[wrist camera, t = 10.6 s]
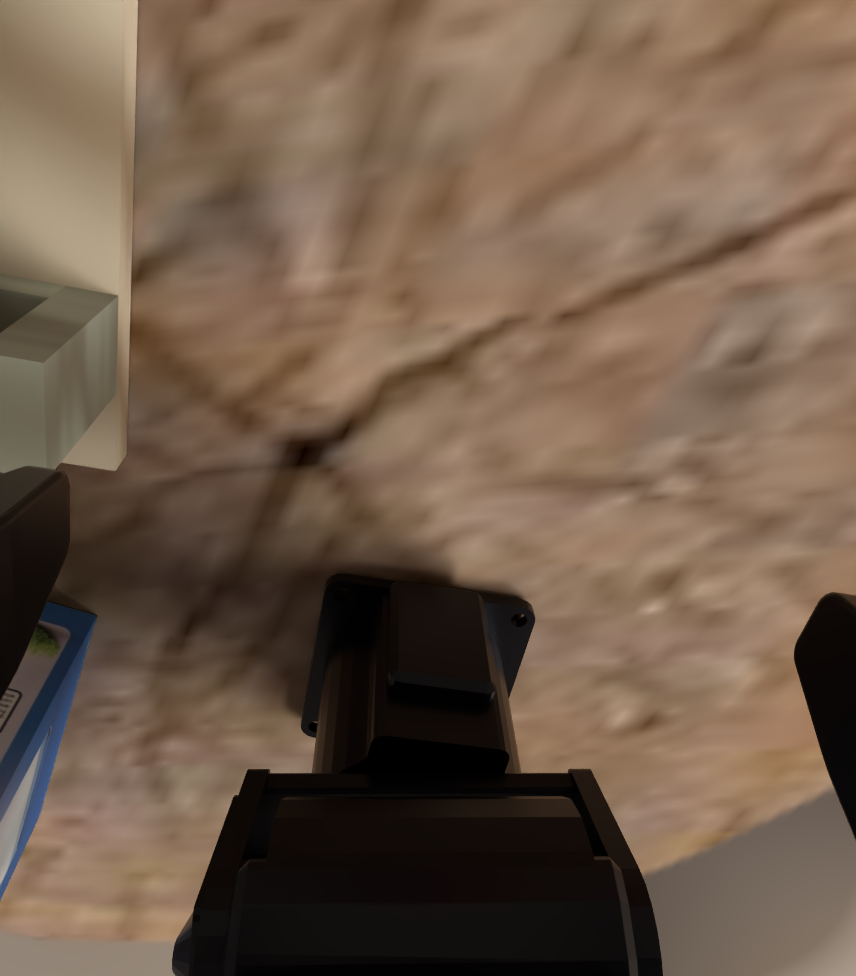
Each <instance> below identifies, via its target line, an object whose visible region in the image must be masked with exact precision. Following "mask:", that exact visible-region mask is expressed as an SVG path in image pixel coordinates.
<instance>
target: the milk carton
mask: <svg viewBox="0 0 856 976" xmlns="http://www.w3.org/2000/svg"><path fill="white" fill-rule="evenodd" d="M96 618H97V616H96V615H93V614H89V613H86V612H83V611H79V610H76V609H72V608H69V607H65V606H62V605H58V604H55V603H52V602H48V601H47V603H46V605H45V608H44V610H43V613H42V615H41V617H40V620H39V622H38V624H37V627H36V629H35V632H34V634H33V636H32V639H31V641H30V643H29V646H28V648H27V651H26V653H25V655H24V657H23V659H22V662H21V664H20V666H19V668H18V670H17V672H16V674H15V676H14V678H13V680H12V681H11V683H10V685H9V687H8V689H7V691H6V692H5V694H4V696H3V697H2V699H1V701H0V900H1V898H2V895H3V893H4V891H5V889H6V887H7V885H8V883H9V880H10V878H11V876H12V874H13V872H14V870H15V867H16V865H17V863H18V861H19V859H20V857H21V855H22V852H23V850H24V848H25V846H26V844H27V842H28V839H29V837H30V835H31V833H32V831H33V829H34V827H35V824H36V822H37V820H38V818H39V816H40V813H41V810H42V806H43V803H44V799H45V796H46V792H47V789H48V785H49V782H50V778H51V775H52V771H53V768H54V764H55V761H56V757H57V754H58V750H59V747H60V743H61V740H62V736H63V733H64V729H65V726H66V722H67V719H68V715H69V712H70V708H71V705H72V701H73V698H74V694H75V691H76V687H77V684H78V681H79V677H80V674H81V670H82V667H83V663H84V660H85V656H86V653H87V649H88V646H89V642H90V639H91V635H92V632H93V628H94V625H95V621H96Z"/></svg>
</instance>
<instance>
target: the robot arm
mask: <svg viewBox="0 0 856 976" xmlns="http://www.w3.org/2000/svg"><path fill="white" fill-rule="evenodd" d="M69 543H70V486H69V480H68V477H67V475H66V474H65V473H64V472H63V471H60V470H56V469H49V468H43V467H37V466H23V467H20V468H17V469H14V470H11V471H9V472H6V473H3V474H0V701H1V699H2V697H3V696H4V694H5V692H6V691H7V689H8V687H9V685H10V683H11V681H12V680H13V678H14V676H15V674H16V672H17V670H18V668H19V666H20V664H21V662H22V659H23V657H24V655H25V653H26V651H27V648H28V646H29V643H30V641H31V639H32V636H33V634H34V632H35V629H36V627H37V624H38V622H39V620H40V617H41V615H42V613H43V610H44V608H45V605H46V603H47V601H48V598H49V596H50V594H51V591H52V589H53V586H54V584H55V582H56V579H57V577H58V575H59V572H60V570H61V567H62V565H63V563H64V560H65V558H66V555H67V552H68V548H69ZM337 588H344V589H347V591H348V592H347V593H343V594H340V593H338V592H336V591H335V590H336V589H337ZM516 614H523V615H524V616H523V617H521V618H520V619H514V618H512V617H513V616H514V615H516ZM534 623H535V615H534V611H533V608H532V606H531V604H530V603H528V602H527V601H524V600H521V599H514V598H507V597H500V596H494V595H487V594H480V593H477V592H475V591H468V590H461V589H454V588H448V587H441V586H434V585H427V584H421V583H414V582H407V581H392V580H385V579H378V578H372V577H365V576H358V575H351V574H344V573H343V574H335V575H332V576H331V577H330V578H329V579H328V580H327V582H326V584H325V590H324V595H323V601H322V607H321V612H320V618H319V624H318V629H317V635H316V641H315V646H314V652H313V658H312V663H311V669H310V675H309V681H308V686H307V692H306V698H305V703H304V709H303V715H302V721H301V729H302V731H303V732H304V733H305V734H306V735H308V736H311V737H315V738H316V743H315V751H314V760H313V768H312V773H270V770H269V769H248V770H247V773H246V776H245V778H244V781H243V784H242V787H241V790H240V792H239V795H235V796H234V797H233V800H232V803H231V805H230V808H229V811H228V814H227V816H226V819H225V822H224V825H223V828H222V830H221V833H220V836H219V839H218V841H217V844H216V847H215V850H214V853H213V855H212V858H211V861H210V864H209V866H208V869H207V872H206V875H205V878H204V880H203V883H202V886H201V889H200V891H199V894H198V897H197V900H196V903H195V906H194V911H193V913H192V915H191V916H190V918H189V920H188V921H187V923H186V925H185V926H184V928H183V929H182V931H181V933H180V934H179V936H178V938H177V940H176V942H175V946H174V951H173V958H172V970H173V973H174V974H175V976H663V971H662V959H661V952H660V945H659V939H658V932H657V927H656V922H655V917H654V913H653V908H652V904H651V901H650V898H649V894H648V891H647V887H646V884H645V882H644V879H643V877H642V874H641V872H640V869H639V867H638V865H637V863H636V861H635V859H634V857H633V855H632V853H631V851H630V849H629V847H628V845H627V843H626V841H625V839H624V837H623V835H622V832H621V830H620V828H619V826H618V824H617V822H616V820H615V818H614V816H613V814H612V812H611V810H610V808H609V806H608V804H607V802H606V800H605V798H604V796H603V794H602V792H601V790H600V787H599V785H598V783H597V781H596V779H595V777H594V775H593V773H592V771H591V770H590V769H569V770H568V773H521V769H520V763H519V757H518V752H517V746H516V740H515V734H514V728H513V722H512V716H511V711H510V705H509V696H510V693H511V690H512V687H513V685H514V682H515V679H516V676H517V673H518V670H519V667H520V664H521V661H522V658H523V655H524V653H525V650H526V647H527V644H528V641H529V638H530V635H531V632H532V629H533V626H534ZM794 661H795V665H796V669H797V672H798V675H799V679H800V682H801V685H802V689H803V692H804V695H805V699H806V702H807V705H808V709H809V712H810V715H811V719H812V722H813V725H814V729H815V732H816V735H817V739H818V742H819V745H820V749H821V752H822V755H823V758H824V761H825V764H826V767H827V770H828V773H829V776H830V778H831V781H832V784H833V786H834V789H835V791H836V794H837V796H838V799H839V801H840V804H841V806H842V808H843V811H844V813H845V816H846V818H847V821H848V823H849V825H850V828H851V830H852V833H853V835H854V838H855V840H856V595H849V594H843V593H835V592H831V593H829V594H826V595H825V596H823V597H822V598H821V599H820V601H819V602H818V604H817V606H816V607H815V609H814V611H813V613H812V615H811V616H810V618H809V620H808V622H807V624H806V625H805V627H804V629H803V631H802V633H801V634H800V636H799V638H798V640H797V642H796V645H795V649H794ZM313 721H318V723H314V722H313Z"/></svg>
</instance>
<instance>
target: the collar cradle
mask: <svg viewBox="0 0 856 976" xmlns="http://www.w3.org/2000/svg"><path fill="white" fill-rule="evenodd" d="M137 18H138V0H0V472H2V473H6V472H9V471H11V470H14V469H17V468H20V467H23V466H37V467H43V468H49V469H56V468H57V467H58V465H59V464H60V463H67V464H73V465H79V466H86V467H92V468H98V469H105V470H111V471H116V470H117V468H118V467H119V465H120V464H121V462H122V461H123V459H124V458H125V456H126V455H127V428H128V387H129V346H130V305H131V264H132V223H133V182H134V141H135V100H136V59H137Z"/></svg>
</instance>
